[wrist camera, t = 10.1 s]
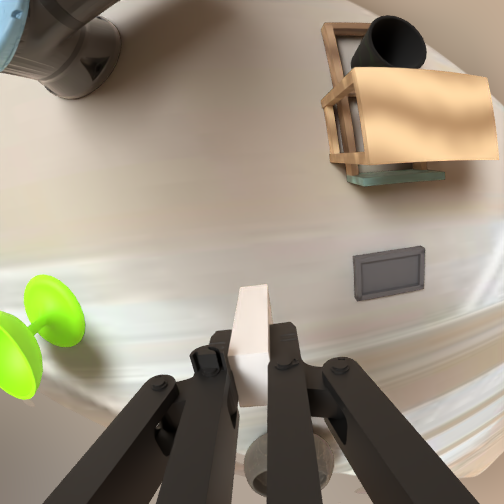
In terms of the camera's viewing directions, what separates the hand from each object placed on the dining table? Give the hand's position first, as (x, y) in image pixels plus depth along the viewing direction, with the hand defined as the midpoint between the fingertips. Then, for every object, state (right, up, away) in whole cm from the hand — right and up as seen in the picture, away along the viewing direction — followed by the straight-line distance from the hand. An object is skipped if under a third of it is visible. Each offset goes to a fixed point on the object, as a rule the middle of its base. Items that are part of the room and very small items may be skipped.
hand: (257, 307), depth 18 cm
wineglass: (-40, -9, +35) cm, 54 cm away
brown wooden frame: (+18, +21, +24) cm, 37 cm away
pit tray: (+22, 0, +30) cm, 37 cm away
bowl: (+7, -37, +42) cm, 56 cm away
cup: (+17, +31, +21) cm, 41 cm away
